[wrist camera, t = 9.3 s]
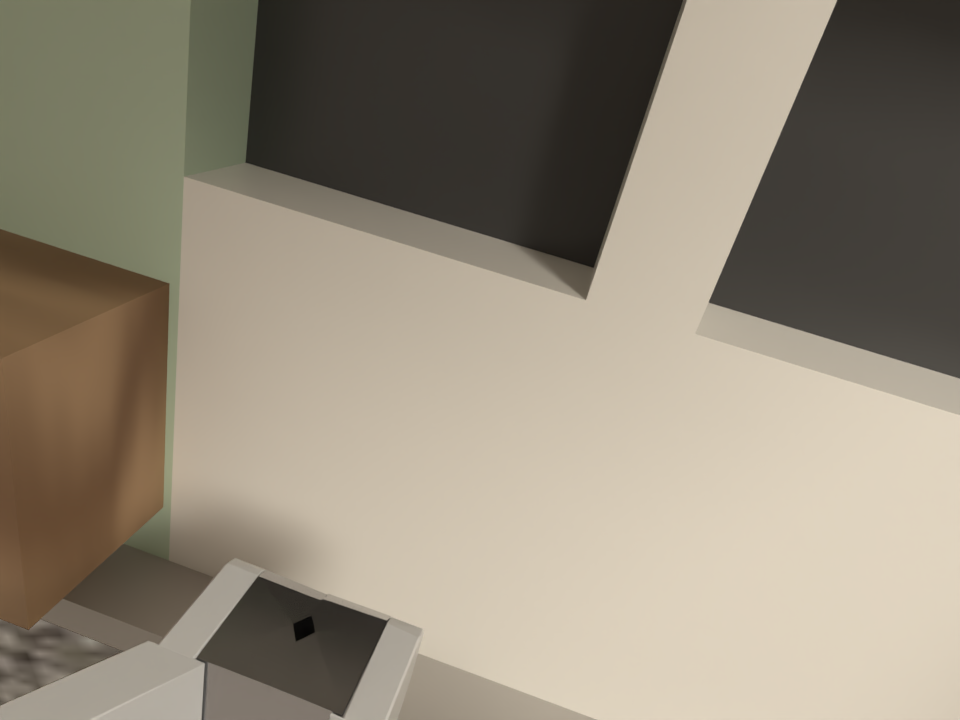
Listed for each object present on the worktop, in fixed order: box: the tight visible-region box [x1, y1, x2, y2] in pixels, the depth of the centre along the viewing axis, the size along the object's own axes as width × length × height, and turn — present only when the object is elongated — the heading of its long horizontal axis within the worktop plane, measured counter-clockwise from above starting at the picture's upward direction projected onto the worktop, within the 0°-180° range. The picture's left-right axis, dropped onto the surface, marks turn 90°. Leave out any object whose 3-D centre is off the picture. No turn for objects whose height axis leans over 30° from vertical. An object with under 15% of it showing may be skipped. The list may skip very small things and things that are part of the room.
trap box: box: [0, 0, 960, 720], centre depth 13 cm, size 20×27×4 cm
